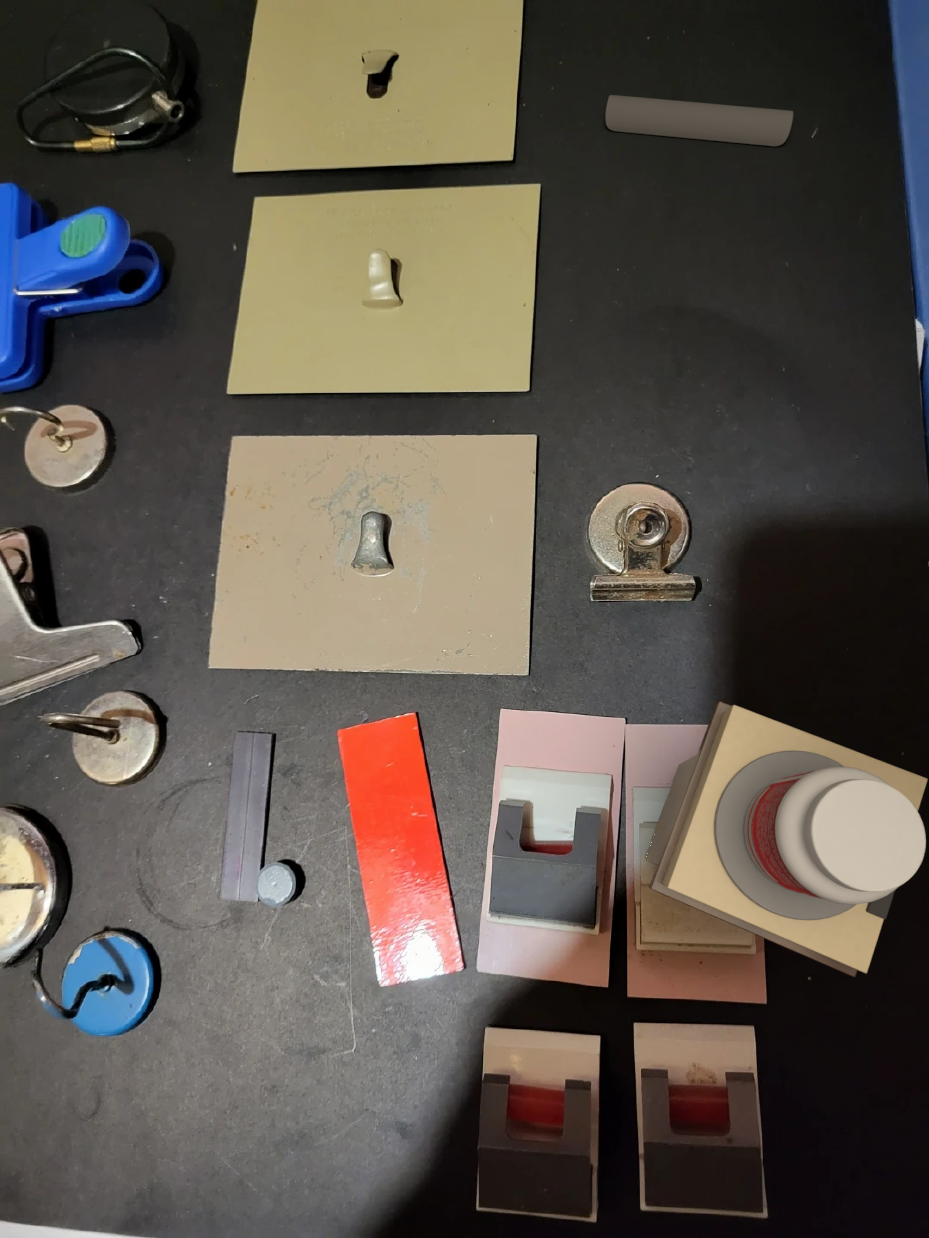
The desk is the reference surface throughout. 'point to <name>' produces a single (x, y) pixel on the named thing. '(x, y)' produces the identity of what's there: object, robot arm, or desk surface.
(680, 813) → the stand
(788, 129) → the gray half cylinder
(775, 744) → the scale
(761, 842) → the pill bottle
